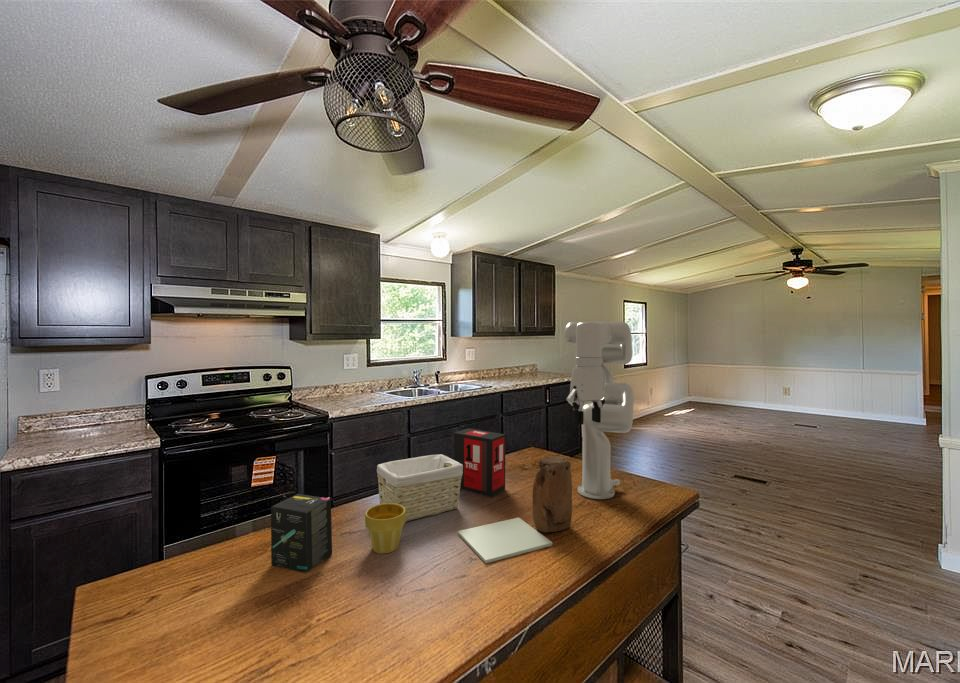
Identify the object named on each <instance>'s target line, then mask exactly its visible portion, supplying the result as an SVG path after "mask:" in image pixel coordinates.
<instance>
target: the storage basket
mask: <svg viewBox="0 0 960 683" xmlns="http://www.w3.org/2000/svg"><path fill="white" fill-rule="evenodd" d="M376 473H377V482H378V495H379V496H378V497H379V498H378V499H379V504H384V503H395V504H399V505H402V506H403V507H404V508H405V510H406V519H405V523H406V522H409V521H413V520H417V519H420V518H424V517H429V516H435V515H438V514H441V513H444V512H449V511H453V510H456V509H458V508H459V499H460V492H461V491H460V490H461V489H460V486H461V485H460V483H461V478H462V474H463V465H462V464H460V463H459V462H457V461H455V460H454V458H453V459H452V458H450V457H449V456H447V455H444V454H441V453H440V454H430V455H422V456H417V457H410V458H406V459H405V458H404V459H398V460H392V461H387V462H383V463H379V464H377V465H376Z"/></svg>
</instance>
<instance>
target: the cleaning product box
mask: <svg viewBox="0 0 960 683" xmlns="http://www.w3.org/2000/svg"><path fill="white" fill-rule="evenodd" d="M453 460H455V461H457V462H459V463H460V464H462V465H463V474H462V478H461V483H460V485H461V486H460V490H463V491H466V492H470V493H474V494H476V495H480V496H485V497H488V498H491V499H492V498H494V497H495V496H497V495H499V494H500V493H502V492H504V491H505V490H506V434H504V433H499V432H492V431H487V430H481V429H480V430H479V429H476V428H465V429H462V430H458V431H455V432H453Z"/></svg>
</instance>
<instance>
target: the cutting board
mask: <svg viewBox="0 0 960 683" xmlns="http://www.w3.org/2000/svg"><path fill="white" fill-rule="evenodd" d="M457 535H458V536H459V537H460V538H461V539H462V540H463V541H464V542H465V543H466V544H467V545H468V547H470V549H471V550H472V551H473V552H474V553H475V554H476V555H477V556H478V557H479V558H480V559H481V561H483V562H484V564H489V563H492V562H496V561H500V560H504V559H507V558H510V557H511V558H512V557H514V556H518V555H521V554H526V553H529V552H532V551H533V552H534V551H536V550H541V549H544V548H548V547H552V546H553V541H551V540H550V539H549V538H547V537H546V536H544V534H542V533H541V532H540V531H539V530H537V529H535V528H533V527H532V526H531V525H530V524H528V523H527V522H525V521H524V520H523V519H522V518H520V517H514V518H510V519H505V520H502V521H497V522H493V523H488V524H483V525H479V526H475V527H470V528H466V529H461V530H457Z"/></svg>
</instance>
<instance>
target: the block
mask: <svg viewBox="0 0 960 683" xmlns="http://www.w3.org/2000/svg"><path fill="white" fill-rule="evenodd" d="M538 462H539V463H538V470H537V471H536V474H535V477H534V480H533V485H532V519H533V523H534V525H535V528H536V529H535V530H536V531H538V532H540V533H541V532H542V533H550V532H553V533H554V532H555V533H557V532H561V531H564V530H566V529H568V528H570V526H571V524H572V517H573V481H572V479H573V476H572V472H571V467H572V466H571V465H572V463H571V462H570V461H569V460H567V459H565V457H562V456H558V455H553V456H544V457H541V458H539V461H538Z"/></svg>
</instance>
